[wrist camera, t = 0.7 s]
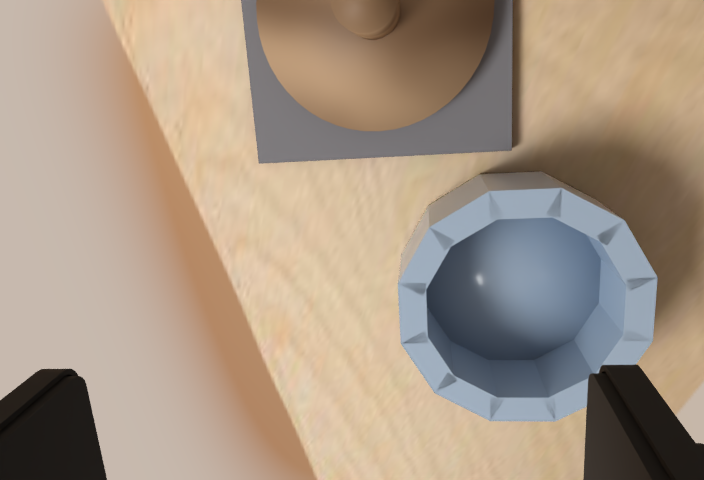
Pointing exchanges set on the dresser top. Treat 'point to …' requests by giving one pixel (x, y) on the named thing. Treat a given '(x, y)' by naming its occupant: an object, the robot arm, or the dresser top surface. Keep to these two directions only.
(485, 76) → the mat
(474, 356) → the bowl
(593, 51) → the dresser top surface
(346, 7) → the lid
